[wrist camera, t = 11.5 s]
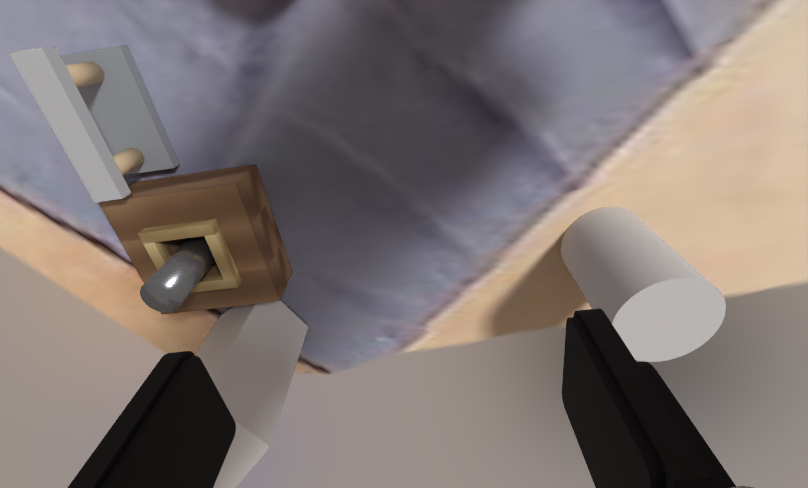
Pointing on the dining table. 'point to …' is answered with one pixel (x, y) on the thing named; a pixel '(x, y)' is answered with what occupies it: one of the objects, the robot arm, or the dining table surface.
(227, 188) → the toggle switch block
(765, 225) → the dining table surface
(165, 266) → the pin
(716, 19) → the dining table surface
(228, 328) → the milk carton
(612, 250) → the light grey cylinder
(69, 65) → the peg rack
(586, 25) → the dining table surface
